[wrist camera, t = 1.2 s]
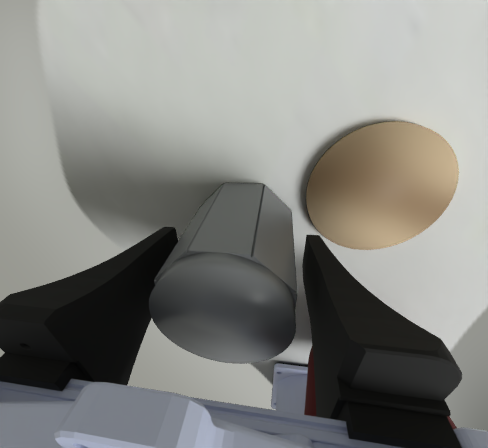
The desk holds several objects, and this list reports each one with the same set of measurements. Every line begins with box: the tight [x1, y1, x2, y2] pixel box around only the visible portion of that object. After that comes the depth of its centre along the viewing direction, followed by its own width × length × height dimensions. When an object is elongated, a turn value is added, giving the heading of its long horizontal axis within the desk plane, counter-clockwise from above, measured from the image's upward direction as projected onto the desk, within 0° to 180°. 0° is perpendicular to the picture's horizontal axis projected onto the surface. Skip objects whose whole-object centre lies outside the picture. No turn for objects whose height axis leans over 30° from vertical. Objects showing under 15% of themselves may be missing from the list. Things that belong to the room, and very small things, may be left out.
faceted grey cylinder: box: [149, 183, 297, 363], centre depth 12 cm, size 6×6×7 cm
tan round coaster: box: [306, 121, 459, 250], centre depth 12 cm, size 7×7×1 cm
